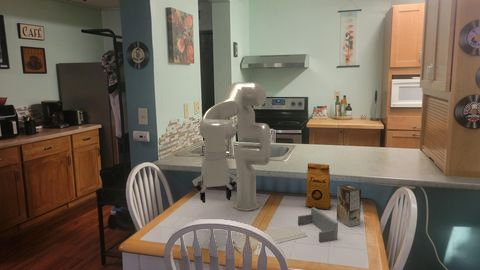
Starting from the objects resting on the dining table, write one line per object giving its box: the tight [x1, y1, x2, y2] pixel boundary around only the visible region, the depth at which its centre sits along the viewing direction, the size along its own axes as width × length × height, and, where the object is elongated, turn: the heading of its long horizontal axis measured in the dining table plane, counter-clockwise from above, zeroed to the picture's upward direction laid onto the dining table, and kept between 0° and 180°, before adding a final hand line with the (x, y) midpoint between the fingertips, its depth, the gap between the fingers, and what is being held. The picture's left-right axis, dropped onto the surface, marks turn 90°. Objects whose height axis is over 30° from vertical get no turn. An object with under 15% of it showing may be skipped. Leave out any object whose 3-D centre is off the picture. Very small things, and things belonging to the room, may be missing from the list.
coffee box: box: [336, 184, 362, 228], centre depth 161 cm, size 9×6×16 cm
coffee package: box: [305, 162, 332, 210], centre depth 180 cm, size 10×12×22 cm
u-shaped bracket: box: [297, 207, 339, 243], centre depth 152 cm, size 18×8×7 cm, turn 19°
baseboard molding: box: [231, 224, 308, 253], centre depth 146 cm, size 31×3×12 cm
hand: (216, 200), depth 136 cm, fingers open, 9 cm apart
